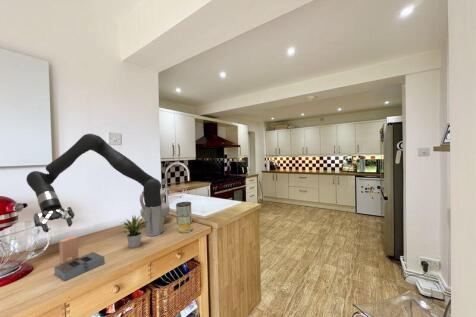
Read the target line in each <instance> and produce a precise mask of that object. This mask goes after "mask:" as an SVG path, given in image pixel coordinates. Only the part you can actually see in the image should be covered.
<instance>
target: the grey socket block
mask: <svg viewBox="0 0 476 317" xmlns="http://www.w3.org/2000/svg"><path fill="white" fill-rule="evenodd" d="M102 265H105V256H103V255H101V254H100V253H99V254H98V253H97V252H94V251H91V252H90V253H88V254H85V255H82V256H78V258H76V259H74V260H72V259H70V260H67V262H66V263H63V264H60V263H59V264H58V265H56V266H54V268H53V270H54V275H55V276H56V277H59V279H61V280H62V281H64V282H66V281H68V280H71V279H73V278H75V277H77V276H80V275H82V274H85V273H86V272H88V271H92V270H94V269H96V268H98V267H100V266H102Z"/></svg>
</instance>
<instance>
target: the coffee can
mask: <svg viewBox="0 0 476 317" xmlns="http://www.w3.org/2000/svg"><path fill="white" fill-rule="evenodd" d="M175 206H176V208H175V210H176V225H177V226H179V225H183V224H189V225H191V224H192V223H193V222H192V220H193V218H192V216H193V215H192V202H191V201H179V202H177V203H176V204H175ZM191 222H192V223H191ZM190 223H191V224H190Z"/></svg>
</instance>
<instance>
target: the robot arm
mask: <svg viewBox="0 0 476 317" xmlns="http://www.w3.org/2000/svg"><path fill="white" fill-rule="evenodd" d="M89 151H92V152H95V153H97V154H98V155H99V156H101V157H103V158H104V159H105V160H106V161H107V163H108V164H109V165H110V166H111V167H112V168H113V169H115V170H116V171H117V172H119V173H120V174H122V176H125V177H126V178H129V179H131V180H133V181H135V182H137V183H138V184H140V185H141V186H142V187H143V190H142V191H144V197H143V203H144V205H145V214H146V221H145V222H146V223H145V225H146V226H145V235H146V236H147V237H155V236H159V235H161V234H162V233H163V232H164V231H165V227H164V226H165V225H164V223H165V222H163V216H162V206H161V198H160V189H162V183H161V181H160V180H159V179H158V178H155V177H153V176H152V175H150V174H149V173H147V172H146V171H144V170H143V169H142V168H141V166H138V165H137V164H136V163H135V162H134V161H132V160H131V159H130V158H129V157H127V156H126V155H124V154H123V153H121V152H120V151H118V150H116V149H114V148H113V147H112V146H111V145H110V144H109V143H107V141H105V140H104V139H103V138H102V137H101V136H99V135H97V134H94V133H86V134H84V135H82V136H81V137H80V138H79V139H78V140H77V141H76V142H75V143H74V144H73V145H72V146H71V147H69V149H68V150H66V151H65V152H63V154H61V155H60V156H58V157H57V158H55V159H54V160H52V162H51V161H50V163H48V164H47V165H46V166H45V170H46V172H47V173H44V172H42V171H39V170H38V171H37V170H33V171H31V172H29V173H28V174H27V176H26V179H25V180H26V183H27V185H28V186H29V187H30V189H32V191H33V192H34V193H35V196H36V198H37V204H38V206H39V209H40V211H41V213H38V212H36V213H34V214H33V217H32V218H33V220H34V221H33V222H34V226H35V227H41V229H42V231H43V232H44V233H46V234H47V233H49V231H50V229H49V226H48V224H47V223H48V222H49V221H54V220H59V219H61V220H65V221H66V224H67V227H68V228H70V227H71V226H72V225H73V221H72V219H74V217H75V213H74V211H73V209H72V207H71V206H68V207H67V208H63V206H62V203H61V202H60V199H59V196H58V194H57V193H56V191H55V188H54V186H52V184H53V183H54V182H55V180H56V179H57V178H58V177H59V175H60V174H62V173H63V172H65V170H68V169H69V168H70V167H71V166H72V165H73V164H74V163H75V161H77V159H78V158H79V157H81V156H82V155H83V154H85V153H88V152H89ZM48 173H49V174H48ZM41 217H42V218H43V221H41V220H40V219H41ZM148 221H150V222H148ZM146 227H147V228H146Z"/></svg>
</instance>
